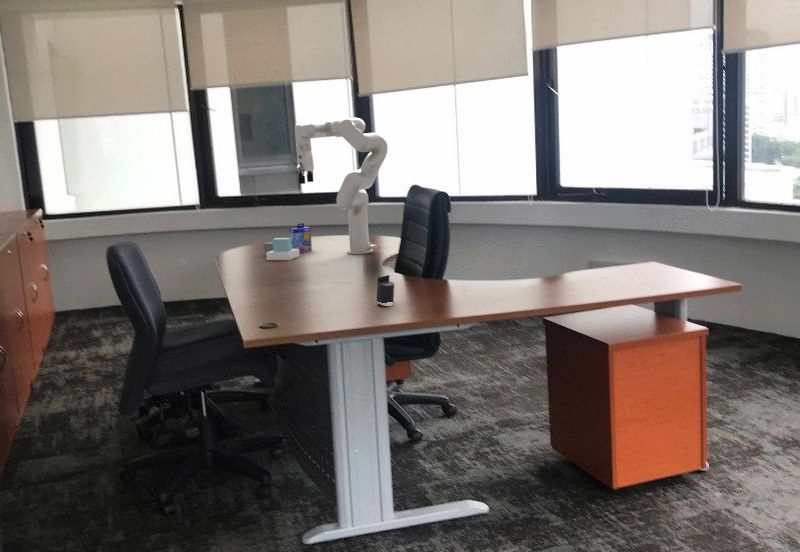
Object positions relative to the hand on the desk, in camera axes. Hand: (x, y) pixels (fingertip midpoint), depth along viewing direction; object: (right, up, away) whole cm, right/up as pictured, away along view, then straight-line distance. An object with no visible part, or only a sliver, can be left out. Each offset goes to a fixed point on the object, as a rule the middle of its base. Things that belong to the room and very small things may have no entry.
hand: (306, 182), depth 459 cm
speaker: (+43, -58, -134) cm, 152 cm away
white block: (-10, -38, -15) cm, 42 cm away
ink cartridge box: (-3, -35, +3) cm, 35 cm away
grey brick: (-16, -36, -2) cm, 40 cm away
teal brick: (-10, -35, -15) cm, 39 cm away
